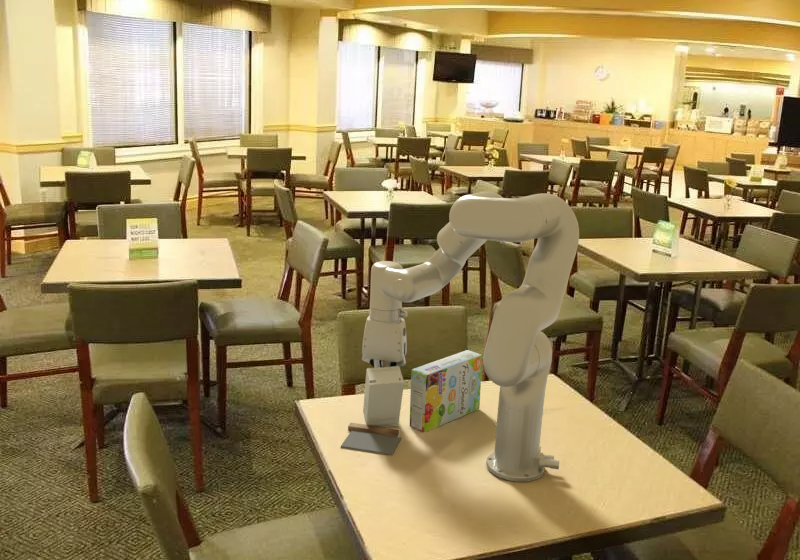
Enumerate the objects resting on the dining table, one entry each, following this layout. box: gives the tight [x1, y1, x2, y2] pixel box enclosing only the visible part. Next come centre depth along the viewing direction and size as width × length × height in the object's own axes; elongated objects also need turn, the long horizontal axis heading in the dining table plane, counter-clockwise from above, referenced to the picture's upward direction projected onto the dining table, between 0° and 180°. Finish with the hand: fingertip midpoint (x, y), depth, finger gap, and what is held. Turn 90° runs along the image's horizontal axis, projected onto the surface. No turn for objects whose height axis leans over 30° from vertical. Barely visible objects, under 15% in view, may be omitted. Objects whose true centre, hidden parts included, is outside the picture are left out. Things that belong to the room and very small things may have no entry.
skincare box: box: [362, 366, 405, 428], centre depth 178 cm, size 8×6×15 cm
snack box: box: [409, 349, 483, 434], centre depth 185 cm, size 21×6×15 cm, turn 136°
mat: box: [340, 430, 402, 456], centre depth 172 cm, size 12×8×1 cm
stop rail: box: [347, 422, 400, 437], centre depth 177 cm, size 12×2×1 cm, turn 76°
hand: (382, 385), depth 182 cm, fingers closed
